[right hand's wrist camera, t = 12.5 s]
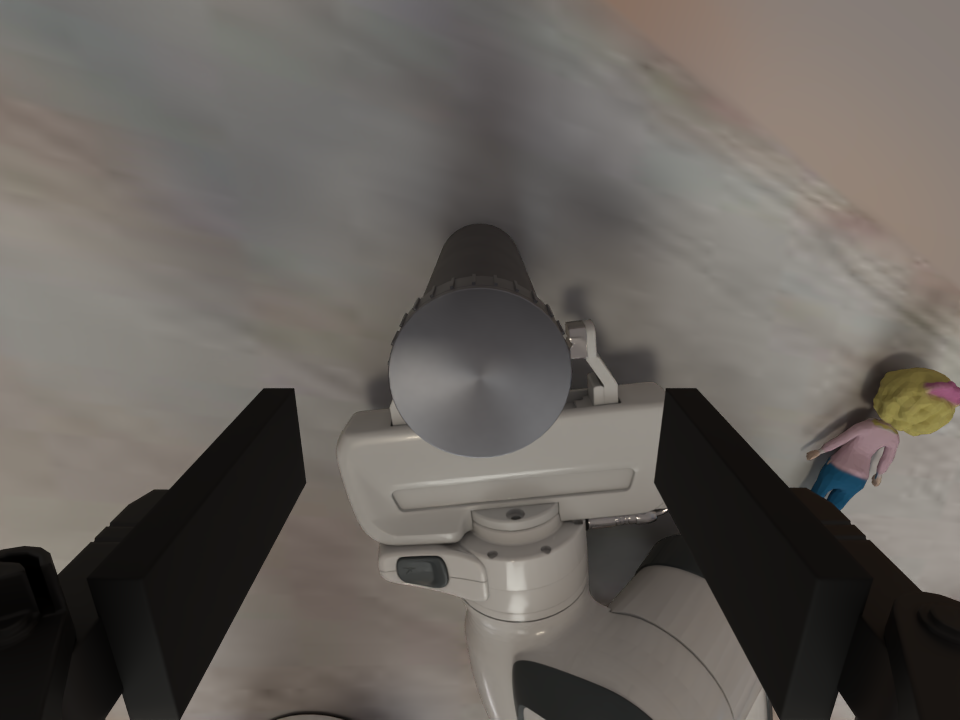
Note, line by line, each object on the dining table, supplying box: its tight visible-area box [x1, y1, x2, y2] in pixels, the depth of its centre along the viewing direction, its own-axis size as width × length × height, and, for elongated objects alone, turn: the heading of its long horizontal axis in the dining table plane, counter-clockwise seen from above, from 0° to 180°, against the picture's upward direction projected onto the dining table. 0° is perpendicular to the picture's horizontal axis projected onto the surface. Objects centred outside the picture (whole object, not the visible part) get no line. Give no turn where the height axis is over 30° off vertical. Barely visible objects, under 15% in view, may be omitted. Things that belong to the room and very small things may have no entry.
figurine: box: [806, 368, 960, 510], centre depth 39 cm, size 6×4×15 cm
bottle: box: [424, 224, 536, 296], centre depth 27 cm, size 5×5×19 cm
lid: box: [388, 274, 572, 458], centre depth 19 cm, size 6×6×2 cm
